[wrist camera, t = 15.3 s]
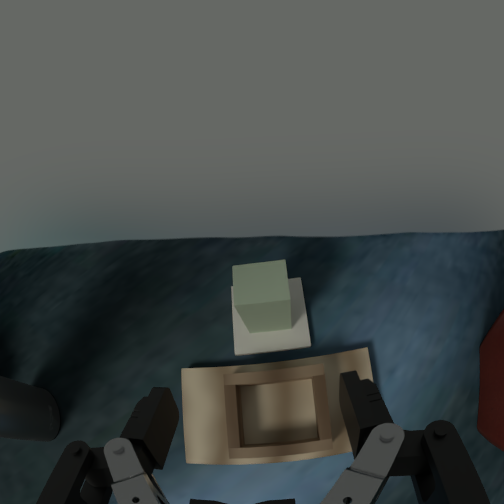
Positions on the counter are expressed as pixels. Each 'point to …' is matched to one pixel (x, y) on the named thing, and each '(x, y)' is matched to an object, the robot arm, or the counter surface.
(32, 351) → the counter surface
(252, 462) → the puzzle board
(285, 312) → the sage block
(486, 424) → the plant pot
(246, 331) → the white tile
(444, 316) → the counter surface
